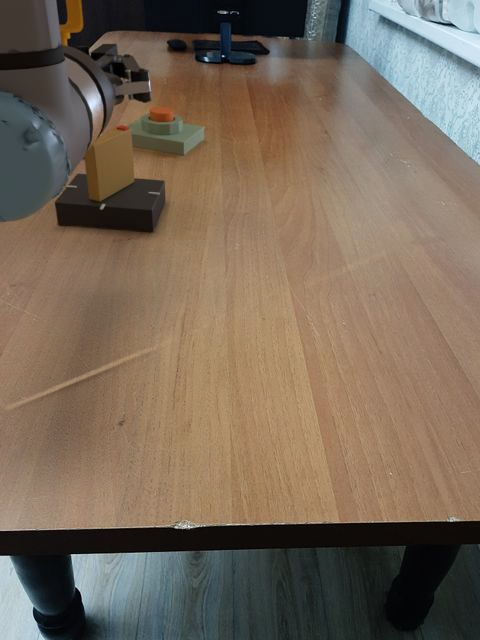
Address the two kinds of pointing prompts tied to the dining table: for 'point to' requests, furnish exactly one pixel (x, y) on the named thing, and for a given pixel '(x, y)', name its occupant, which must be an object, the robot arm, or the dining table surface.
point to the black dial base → (112, 206)
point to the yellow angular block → (110, 163)
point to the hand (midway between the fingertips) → (111, 57)
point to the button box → (165, 135)
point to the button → (161, 114)
